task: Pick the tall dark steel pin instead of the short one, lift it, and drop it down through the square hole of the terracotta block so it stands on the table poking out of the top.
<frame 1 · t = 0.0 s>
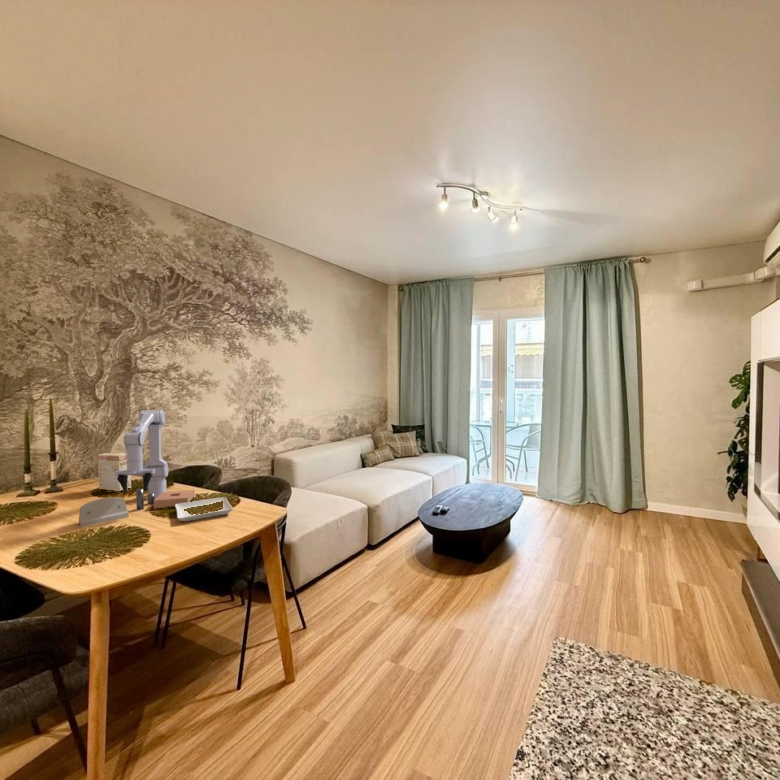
hand: (135, 491, 170), 10 cm above the table, tool pointing down, fingers open, 7 cm apart
grey bracket: (103, 520, 165), on the table
coffeecake box: (115, 490, 211), on the table
hole block: (175, 503, 186), on the table
short pin: (151, 503, 186), on the table
salad plate: (203, 514, 172), on the table
tall pin: (140, 509, 178), on the table
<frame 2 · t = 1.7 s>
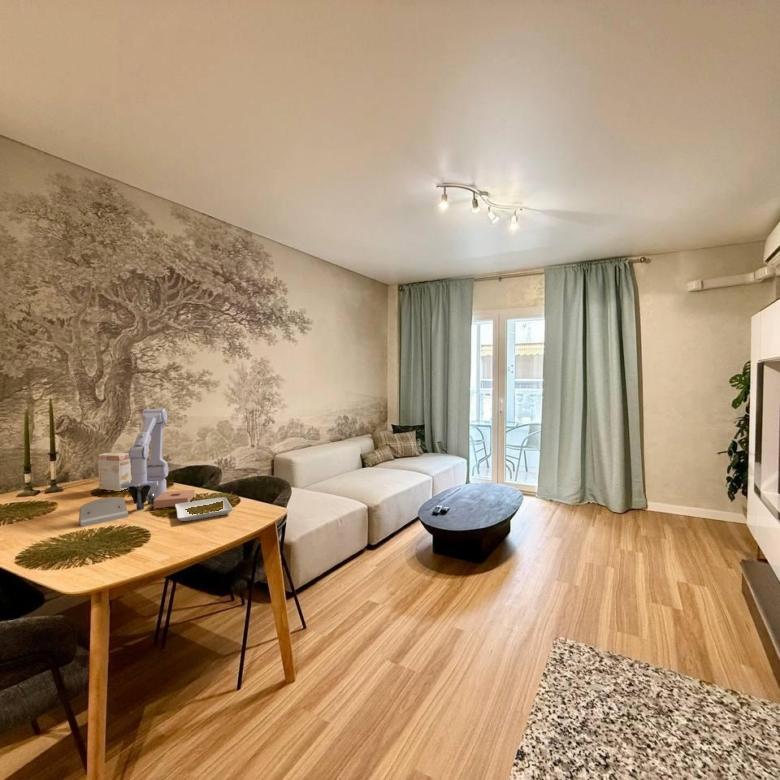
hand: (140, 502, 178), 3 cm above the table, tool pointing down, fingers closed on tall pin, 3 cm apart
tall pin: (140, 509, 178), on the table, touching gripper
everything else where it was.
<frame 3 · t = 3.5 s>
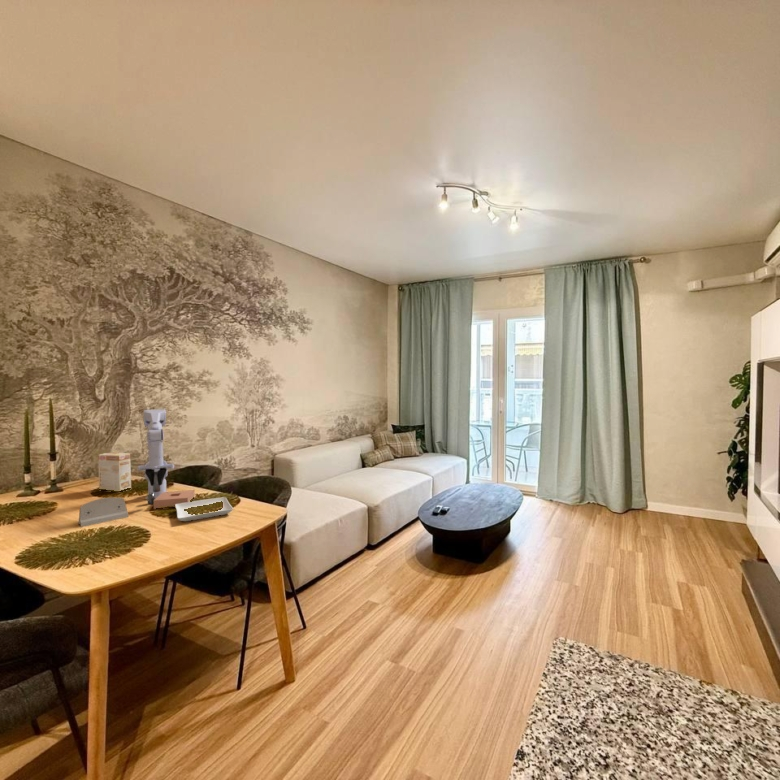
hand: (156, 485, 182), 10 cm above the table, tool pointing down, fingers closed on tall pin, 3 cm apart
tall pin: (156, 491, 182), point 7 cm above the table, touching gripper
everything else where it was.
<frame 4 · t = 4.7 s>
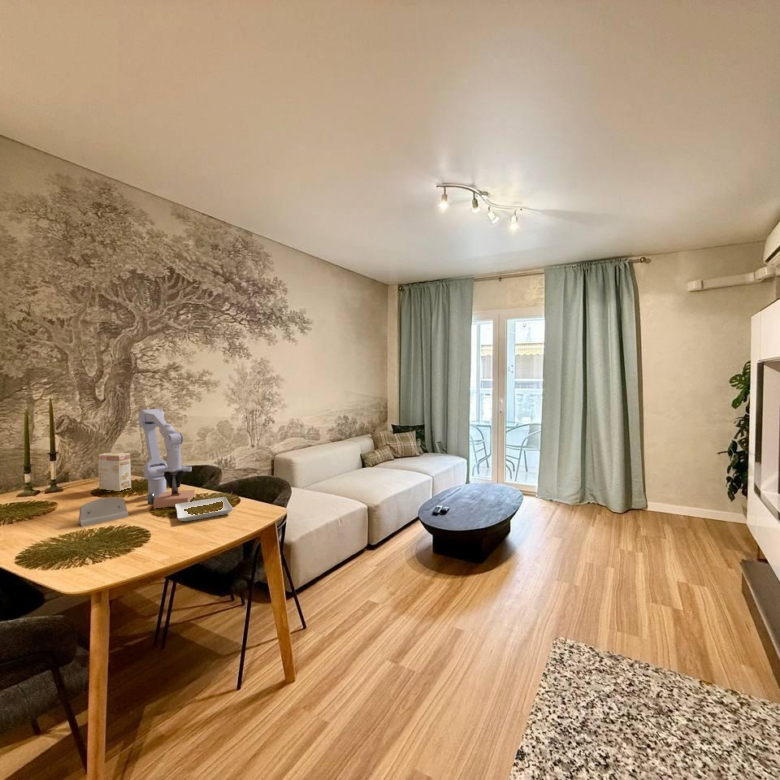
hand: (174, 487, 186), 8 cm above the table, tool pointing down, fingers closed on tall pin, 3 cm apart
tall pin: (174, 493, 186), point 5 cm above the table, touching gripper
everything else where it was.
when the fingers open (5 cm above the table, at t = 5.6 s): tall pin drops 2 cm, resting in hole block.
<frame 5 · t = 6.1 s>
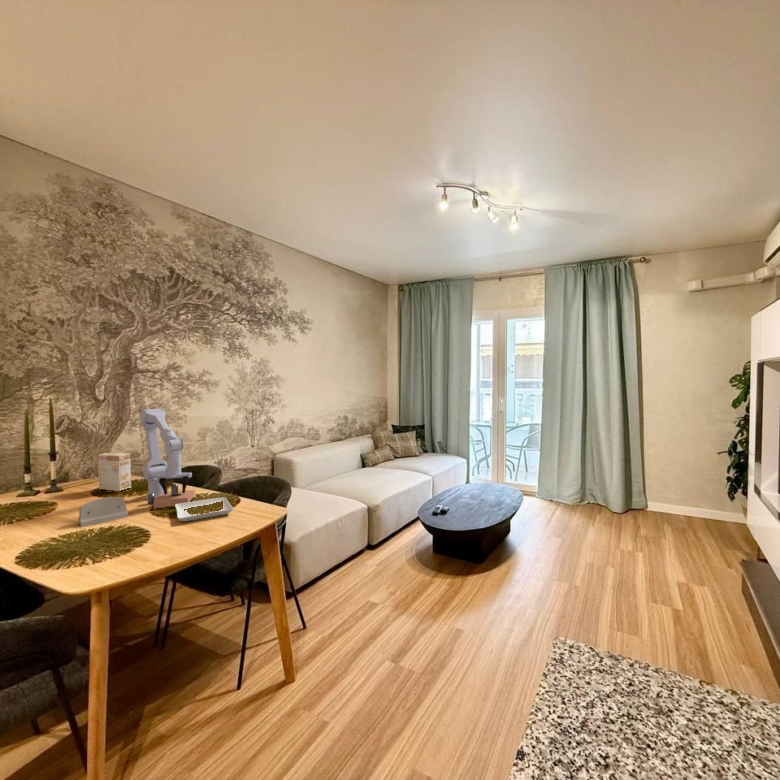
hand: (174, 493, 186), 5 cm above the table, tool pointing down, fingers open, 7 cm apart
tall pin: (175, 503, 186), resting in hole block
everything else where it was.
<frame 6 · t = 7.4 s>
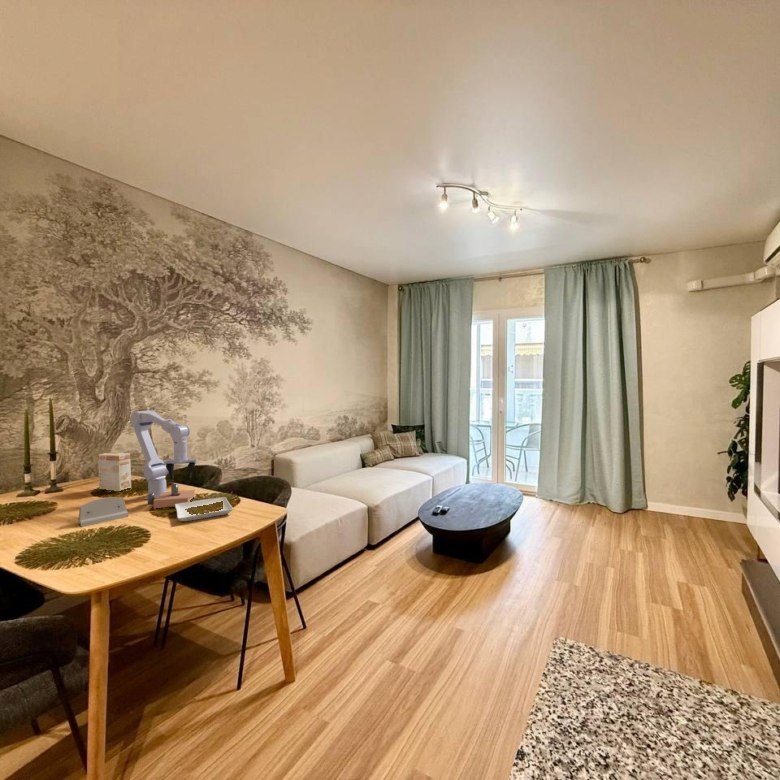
hand: (181, 478, 192), 10 cm above the table, tool pointing down, fingers open, 7 cm apart
nothing on the table moved.
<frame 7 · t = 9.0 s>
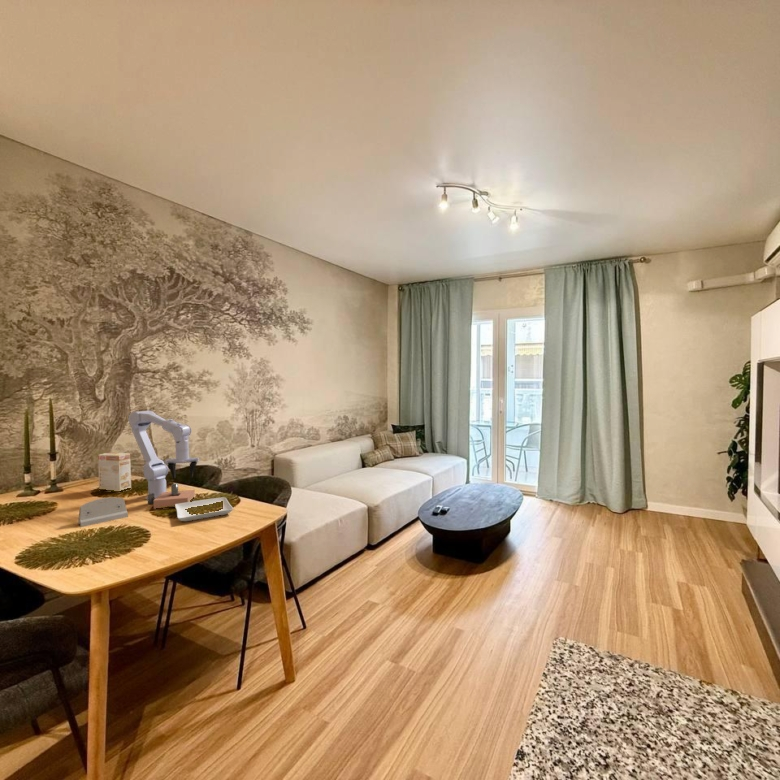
hand: (183, 477, 193), 10 cm above the table, tool pointing down, fingers open, 7 cm apart
nothing on the table moved.
at the end: tall pin 0.1 cm off-centre on the hole block, point 0.0 cm above the hole block's base; tall pin tilted 0°; short pin moved 0.0 cm from its start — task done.
